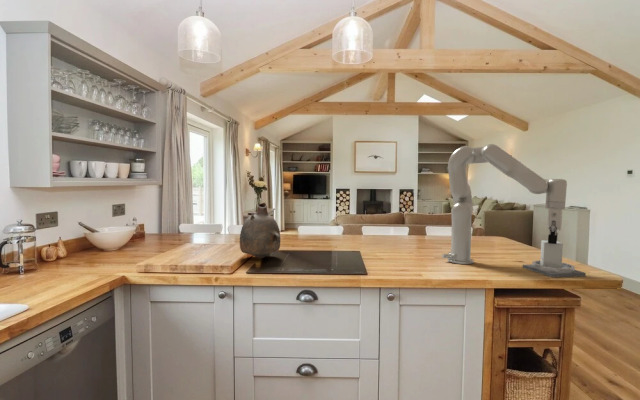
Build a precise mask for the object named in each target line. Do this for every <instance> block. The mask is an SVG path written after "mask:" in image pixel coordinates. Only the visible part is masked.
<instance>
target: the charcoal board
mask: <svg viewBox="0 0 640 400" xmlns="http://www.w3.org/2000/svg"><path fill="white" fill-rule="evenodd" d="M562 268H564V267H562ZM522 269H525V270H528V271H531V272H534V273H538V274H540V275H543V276H546V277H549V278H569V277H571V278H573V277H574V276H576V277H586V272H584V271H580V270H577V269H575V272H573V273H555V272H547V271H543V270H539V269H536V268H534V267H532V263H531V264H522Z"/></svg>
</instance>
